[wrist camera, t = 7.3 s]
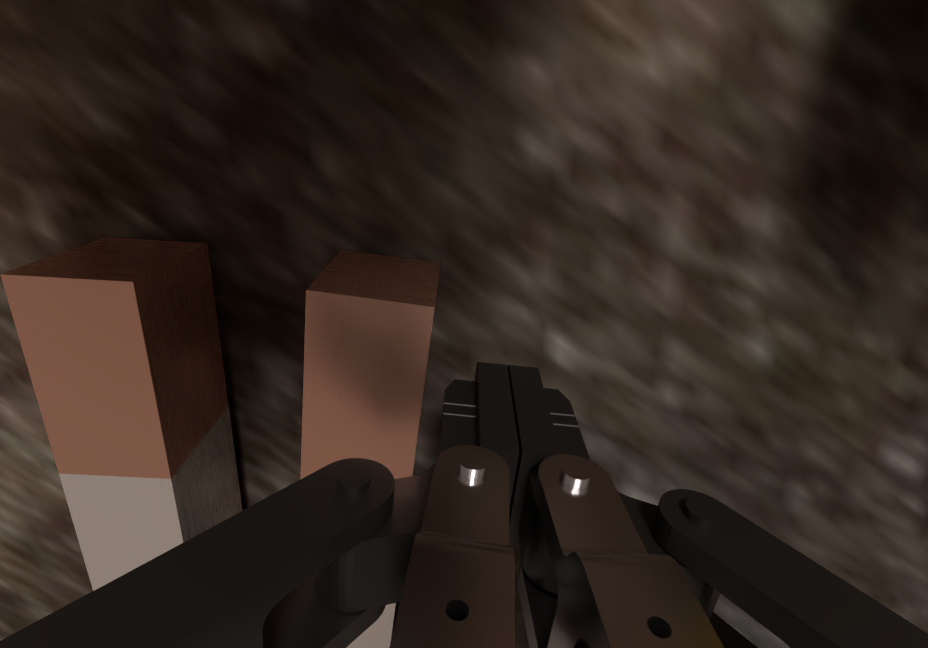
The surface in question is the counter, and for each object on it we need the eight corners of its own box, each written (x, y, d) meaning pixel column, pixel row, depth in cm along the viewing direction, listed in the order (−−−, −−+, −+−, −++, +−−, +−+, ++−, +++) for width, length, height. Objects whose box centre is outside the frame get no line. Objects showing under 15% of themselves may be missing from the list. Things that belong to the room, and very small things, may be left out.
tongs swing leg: (390, 764, 21) (377, 882, 18) (299, 757, 20) (269, 875, 17) (465, 264, 13) (466, 315, 10) (318, 244, 13) (269, 289, 9)
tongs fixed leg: (387, 811, 22) (377, 915, 19) (222, 806, 21) (187, 910, 19) (392, 253, 12) (372, 295, 10) (105, 237, 12) (0, 274, 10)
